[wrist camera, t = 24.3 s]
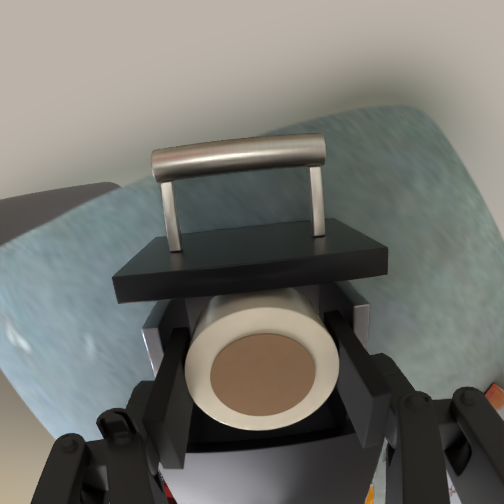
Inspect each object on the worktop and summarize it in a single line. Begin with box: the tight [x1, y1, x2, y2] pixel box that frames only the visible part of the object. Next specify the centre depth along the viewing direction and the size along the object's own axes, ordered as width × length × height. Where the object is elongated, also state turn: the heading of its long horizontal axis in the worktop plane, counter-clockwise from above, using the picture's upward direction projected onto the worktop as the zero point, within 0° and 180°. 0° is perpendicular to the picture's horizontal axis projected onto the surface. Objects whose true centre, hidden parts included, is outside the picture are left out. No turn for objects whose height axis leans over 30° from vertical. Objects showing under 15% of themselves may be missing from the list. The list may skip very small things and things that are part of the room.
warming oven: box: [158, 424, 385, 504], centre depth 20 cm, size 14×13×10 cm
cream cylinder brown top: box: [184, 288, 339, 430], centre depth 14 cm, size 7×7×3 cm
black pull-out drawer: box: [112, 133, 388, 443], centre depth 17 cm, size 18×11×8 cm, turn 6°
